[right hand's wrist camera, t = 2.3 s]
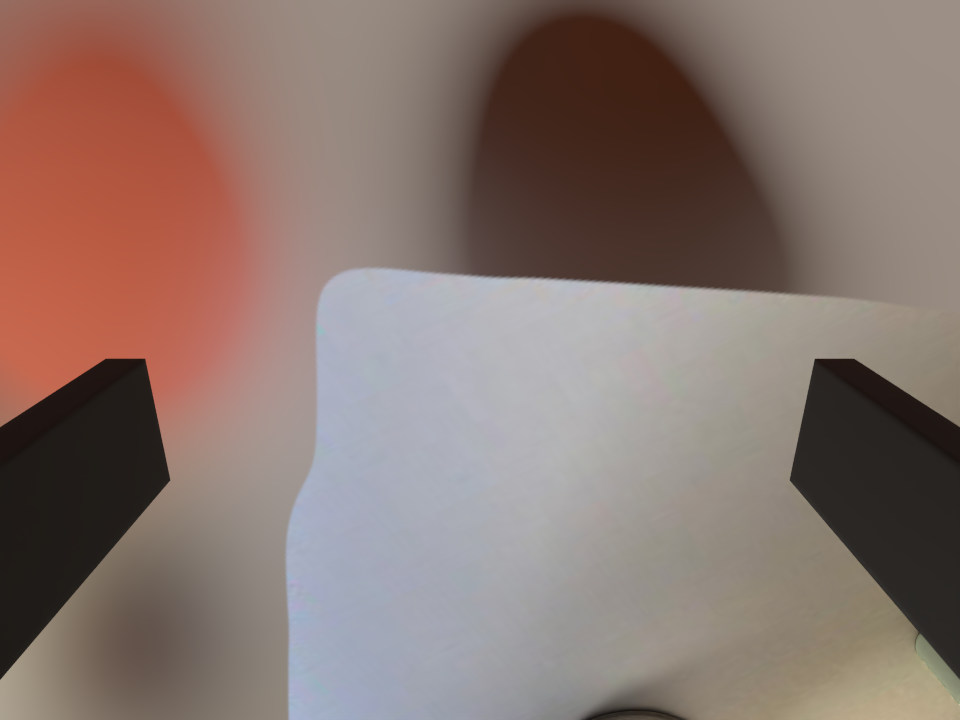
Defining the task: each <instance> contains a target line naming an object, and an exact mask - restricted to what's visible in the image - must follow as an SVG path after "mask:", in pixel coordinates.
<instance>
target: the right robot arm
mask: <svg viewBox="0 0 960 720" xmlns="http://www.w3.org/2000/svg"><path fill="white" fill-rule="evenodd" d="M169 481H170V477H169V472H168V467H167V462H166V457H165V452H164V448H163V443H162V438H161V433H160V428H159V424H158V419H157V414H156V409H155V404H154V399H153V395H152V390H151V385H150V380H149V375H148V370H147V366H146V361H145V359H105V360H103V361H102V362H100V363H99V364H97V365H96V366H94V367H93V368H91V369H90V370H88V371H86V372H85V373H83V374H82V375H80V376H79V377H77V378H76V379H74V380H72V381H71V382H69V383H68V384H66V385H65V386H63V387H62V388H60V389H59V390H57V391H56V392H54V393H52V394H51V395H49V396H48V397H46V398H45V399H43V400H42V401H40V402H39V403H37V404H35V405H34V406H32V407H31V408H29V409H28V410H26V411H25V412H23V413H22V414H20V415H18V416H17V417H15V418H14V419H12V420H11V421H9V422H8V423H6V424H4V425H3V426H1V427H0V679H1V678H2V677H3V676H4V675H5V673H6V672H7V671H8V670H9V669H10V668H11V666H12V665H13V664H14V663H15V662H16V661H17V659H18V658H19V657H20V656H21V655H22V654H23V652H24V651H25V650H26V649H27V648H28V647H29V645H30V644H31V643H32V642H33V641H34V639H35V638H36V637H37V636H38V635H39V634H40V632H41V631H42V630H43V629H44V628H45V627H46V625H47V624H48V623H49V622H50V621H51V619H52V618H53V617H54V616H55V615H56V614H57V613H58V611H59V610H60V609H61V608H62V607H63V605H64V604H65V603H66V602H67V601H68V600H69V598H70V597H71V596H72V595H73V594H74V593H75V591H76V590H77V589H78V588H79V587H80V586H81V584H82V583H83V582H84V581H85V580H86V578H87V577H88V576H89V575H90V574H91V573H92V571H93V570H94V569H95V568H96V567H97V566H98V564H99V563H100V562H101V561H102V560H103V559H104V557H105V556H106V555H107V554H108V553H109V551H110V550H111V549H112V548H113V547H114V546H115V544H116V543H117V542H118V541H119V540H120V539H121V537H122V536H123V535H124V534H125V533H126V532H127V530H128V529H129V528H130V527H131V526H132V524H133V523H134V522H135V521H136V520H137V519H138V517H139V516H140V515H141V514H142V513H143V512H144V510H145V509H146V508H147V507H148V506H149V505H150V503H151V502H152V501H153V500H154V499H155V498H156V496H157V495H158V494H159V493H160V492H161V490H162V489H163V488H164V487H165V486H166V485H167V483H168V482H169ZM790 481H791V482H792V483H793V485H794V486H795V487H796V488H797V489H798V490H799V492H800V493H801V494H802V495H803V496H804V498H805V499H806V500H807V501H808V502H809V503H810V505H811V506H812V507H813V508H814V509H815V510H816V512H817V513H818V514H819V515H820V516H821V517H822V519H823V520H824V521H825V522H826V523H827V525H828V526H829V527H830V528H831V529H832V530H833V532H834V533H835V534H836V535H837V536H838V537H839V539H840V540H841V541H842V542H843V543H844V544H845V546H846V547H847V548H848V549H849V550H850V551H851V553H852V554H853V555H854V556H855V557H856V559H857V560H858V561H859V562H860V563H861V564H862V566H863V567H864V568H865V569H866V570H867V571H868V573H869V574H870V575H871V576H872V577H873V578H874V580H875V581H876V582H877V583H878V584H879V586H880V587H881V588H882V589H883V590H884V591H885V593H886V594H887V595H888V596H889V597H890V598H891V600H892V601H893V602H894V603H895V604H896V605H897V607H898V608H899V609H900V610H901V611H902V613H903V614H904V615H905V616H906V617H907V618H908V620H909V621H910V622H911V623H912V624H913V625H914V627H915V628H916V629H917V630H918V631H919V632H920V634H921V635H922V636H923V637H924V638H925V639H926V641H927V642H928V643H929V644H930V645H931V647H932V648H933V649H934V650H935V651H936V652H937V654H938V655H939V656H940V657H941V658H942V659H943V661H944V662H945V663H946V664H947V665H948V666H949V668H950V669H951V670H952V671H953V672H954V674H955V675H956V676H957V677H958V678H959V679H960V427H959V426H957V425H956V424H954V423H952V422H951V421H949V420H948V419H946V418H945V417H943V416H942V415H940V414H939V413H937V412H935V411H934V410H932V409H931V408H929V407H928V406H926V405H925V404H923V403H922V402H920V401H918V400H917V399H915V398H914V397H912V396H911V395H909V394H908V393H906V392H905V391H903V390H901V389H900V388H898V387H897V386H895V385H894V384H892V383H891V382H889V381H888V380H886V379H884V378H883V377H881V376H880V375H878V374H877V373H875V372H874V371H872V370H871V369H869V368H867V367H866V366H864V365H863V364H861V363H860V362H858V361H857V360H855V359H815V361H814V366H813V370H812V375H811V380H810V385H809V390H808V395H807V399H806V404H805V409H804V414H803V419H802V424H801V428H800V433H799V438H798V443H797V448H796V452H795V457H794V462H793V467H792V472H791V477H790ZM591 720H680V719H677V718H675V717H672V716H669V715H665V714H662V713H656V712H649V711H623V712H616V713H610V714H606V715H602V716H599V717H596V718H593V719H591Z"/></svg>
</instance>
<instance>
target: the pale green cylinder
mask: <svg viewBox="0 0 960 720" xmlns="http://www.w3.org/2000/svg"><path fill="white" fill-rule="evenodd" d="M915 648H916V652H917V654H918V655H919V657H920V658H921V659H922V660H923V662H924V663H925V664H926V665H927V666H928V668H929V669H930V670H931V671H932V673H933V674H934V675H935V676H936V677H937V679H938V680H939V681H940V682H941V684H942V685H943V686H944V687H945V689H946V690H947V691H948V692H949V693H950V695H951V696H952V697H953V698H954V700H955V701H956V702H957V703H958V705H959V706H960V679H959V678H958V677H957V676H956V675H955V674H954V672H953V671H952V670H951V669H950V668H949V666H948V665H947V664H946V663H945V662H944V661H943V659H942V658H941V657H940V656H939V655H938V654H937V652H936V651H935V650H934V649H933V648H932V647H931V645H930V644H929V643H928V642H927V641H926V639H925V638H924V637H923V636H922V635H921V634H919V635H918V637H917V639H916V643H915Z"/></svg>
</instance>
